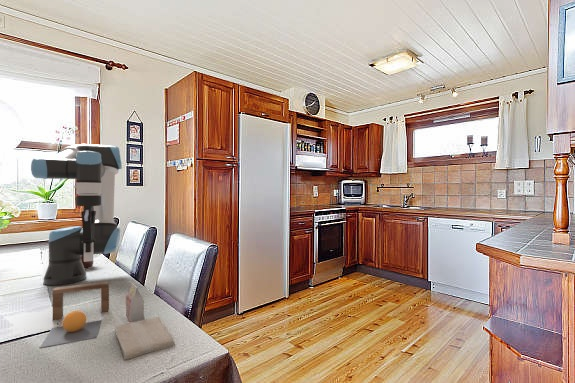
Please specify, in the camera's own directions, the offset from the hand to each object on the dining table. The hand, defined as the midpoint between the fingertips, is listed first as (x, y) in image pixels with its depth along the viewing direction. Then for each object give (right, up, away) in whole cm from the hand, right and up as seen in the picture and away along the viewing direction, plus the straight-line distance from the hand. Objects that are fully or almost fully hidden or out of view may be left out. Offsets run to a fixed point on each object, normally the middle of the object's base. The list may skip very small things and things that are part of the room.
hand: (88, 260), depth 107 cm
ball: (+11, -12, -23) cm, 28 cm away
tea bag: (+24, -15, -14) cm, 31 cm away
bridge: (+6, -14, -12) cm, 19 cm away
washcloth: (+33, -15, -27) cm, 45 cm away
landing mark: (+12, -14, -24) cm, 31 cm away
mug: (-34, -15, +47) cm, 60 cm away
